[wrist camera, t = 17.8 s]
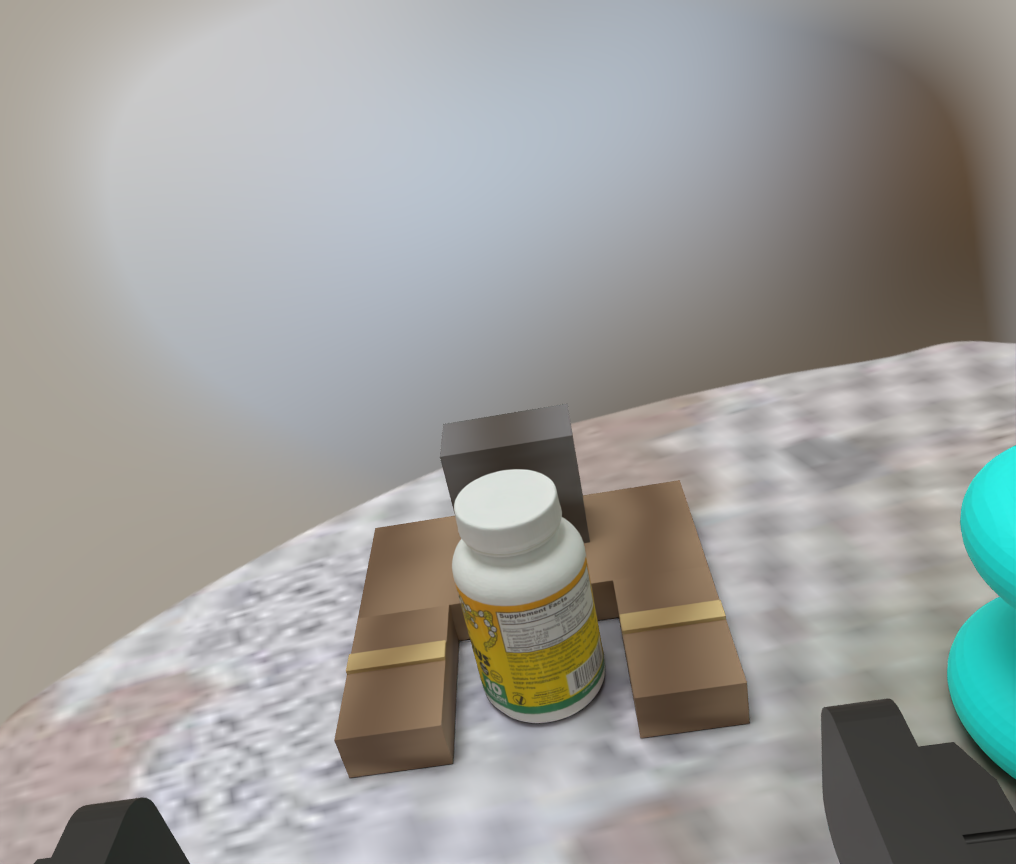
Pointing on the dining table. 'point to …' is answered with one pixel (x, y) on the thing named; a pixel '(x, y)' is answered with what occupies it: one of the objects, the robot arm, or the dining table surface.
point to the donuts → (989, 616)
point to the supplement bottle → (526, 597)
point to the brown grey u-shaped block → (616, 592)
